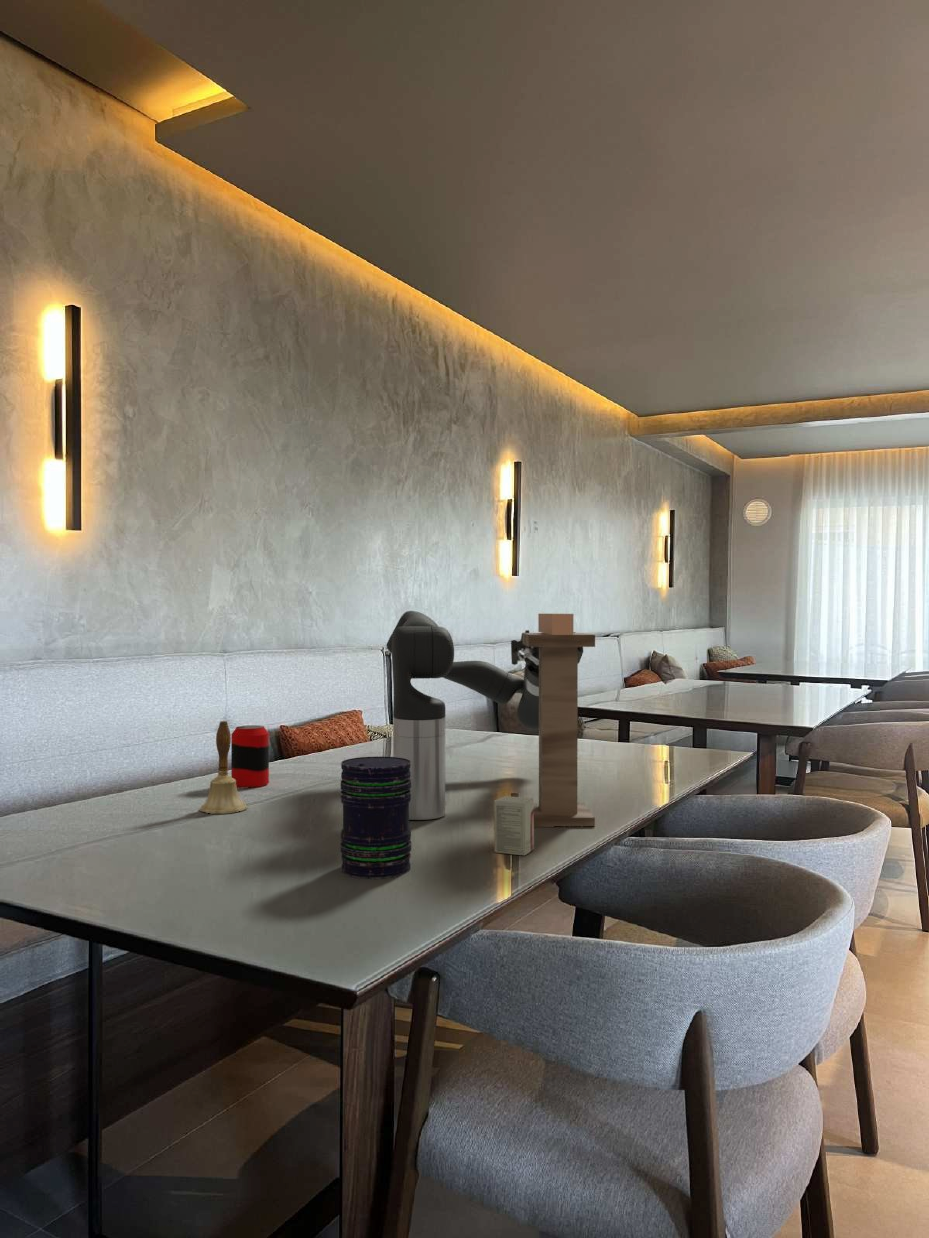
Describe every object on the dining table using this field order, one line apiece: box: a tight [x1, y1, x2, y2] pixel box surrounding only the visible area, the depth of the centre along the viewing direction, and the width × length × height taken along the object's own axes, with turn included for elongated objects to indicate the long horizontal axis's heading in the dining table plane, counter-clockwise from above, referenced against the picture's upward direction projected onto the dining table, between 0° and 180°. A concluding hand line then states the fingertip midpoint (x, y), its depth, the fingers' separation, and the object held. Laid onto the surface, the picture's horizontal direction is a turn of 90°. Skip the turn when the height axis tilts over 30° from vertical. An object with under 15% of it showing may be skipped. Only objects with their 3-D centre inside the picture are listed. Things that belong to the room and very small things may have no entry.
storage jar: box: [340, 756, 412, 880], centre depth 131 cm, size 10×10×15 cm
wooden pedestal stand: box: [521, 632, 596, 828], centre depth 163 cm, size 14×11×32 cm
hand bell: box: [199, 720, 248, 815], centre depth 170 cm, size 8×8×16 cm
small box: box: [493, 795, 535, 856], centre depth 140 cm, size 5×4×8 cm
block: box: [537, 613, 574, 635], centre depth 167 cm, size 24×4×4 cm, turn 1°
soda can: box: [230, 724, 270, 788], centre depth 194 cm, size 8×8×12 cm
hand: (549, 634), depth 182 cm, fingers open, 8 cm apart
